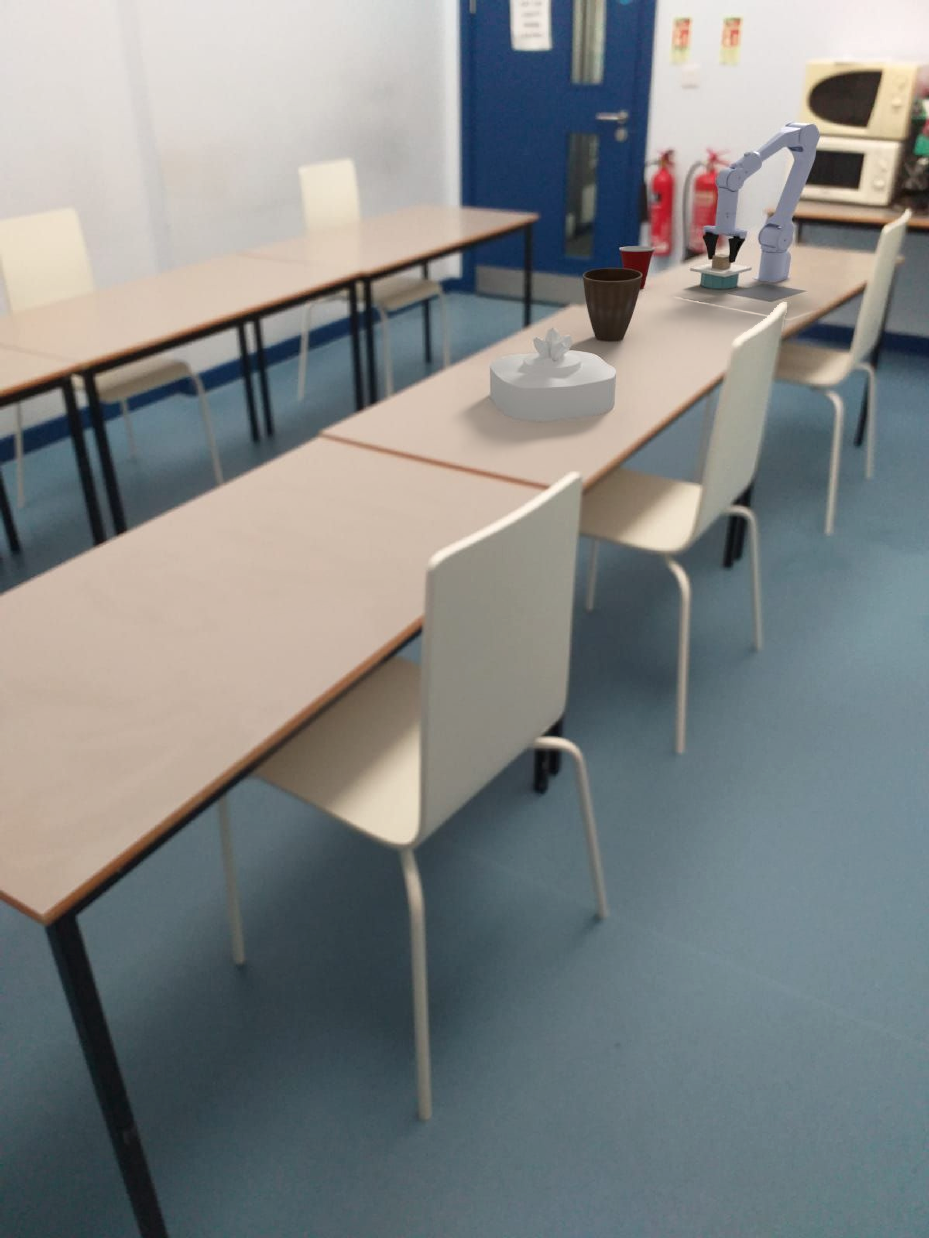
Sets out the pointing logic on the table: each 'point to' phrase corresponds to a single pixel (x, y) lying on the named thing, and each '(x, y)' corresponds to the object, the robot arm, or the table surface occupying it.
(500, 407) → the tissue box
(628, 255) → the plastic cup
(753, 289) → the mat
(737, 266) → the lid
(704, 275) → the bowl
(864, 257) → the table surface
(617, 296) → the plant pot
